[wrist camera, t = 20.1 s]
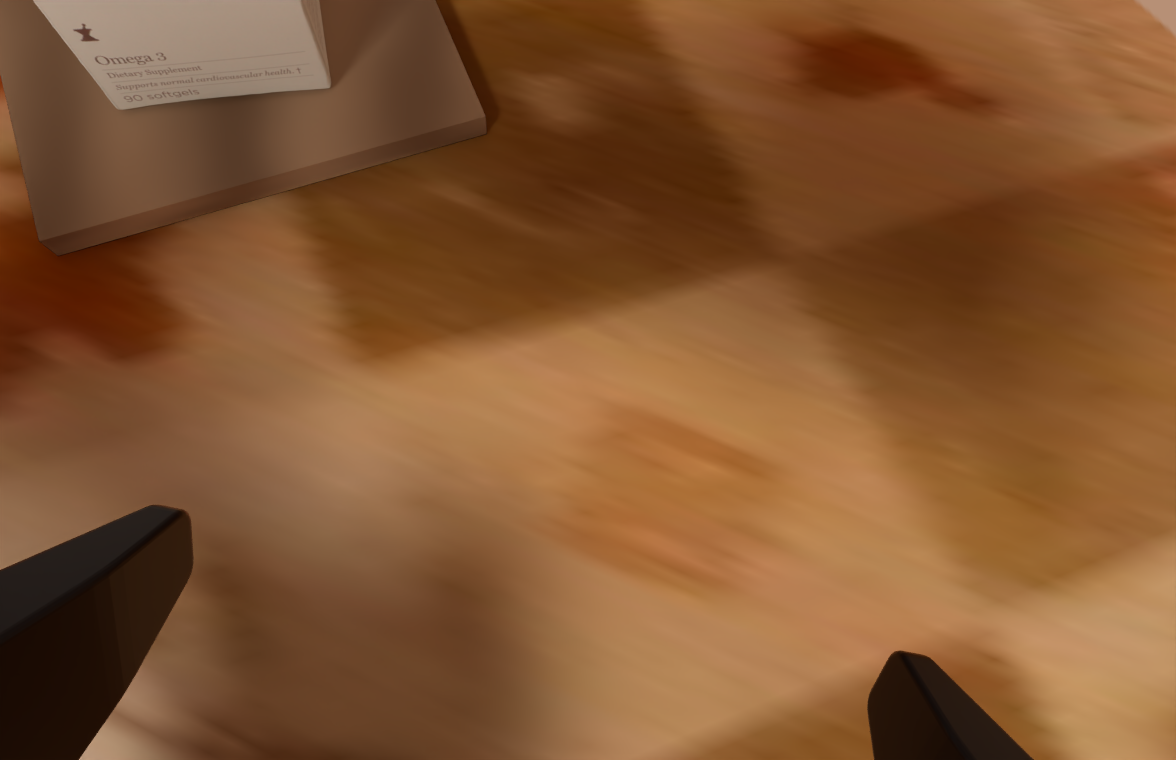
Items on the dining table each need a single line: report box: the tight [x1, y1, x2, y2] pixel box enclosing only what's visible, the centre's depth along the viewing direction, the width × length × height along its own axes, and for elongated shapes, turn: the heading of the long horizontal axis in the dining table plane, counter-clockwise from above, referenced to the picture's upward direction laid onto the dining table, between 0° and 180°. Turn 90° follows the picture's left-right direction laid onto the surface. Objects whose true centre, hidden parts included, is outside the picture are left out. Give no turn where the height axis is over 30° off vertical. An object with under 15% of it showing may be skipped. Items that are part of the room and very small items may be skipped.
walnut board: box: [0, 0, 487, 256], centre depth 27 cm, size 15×15×1 cm
